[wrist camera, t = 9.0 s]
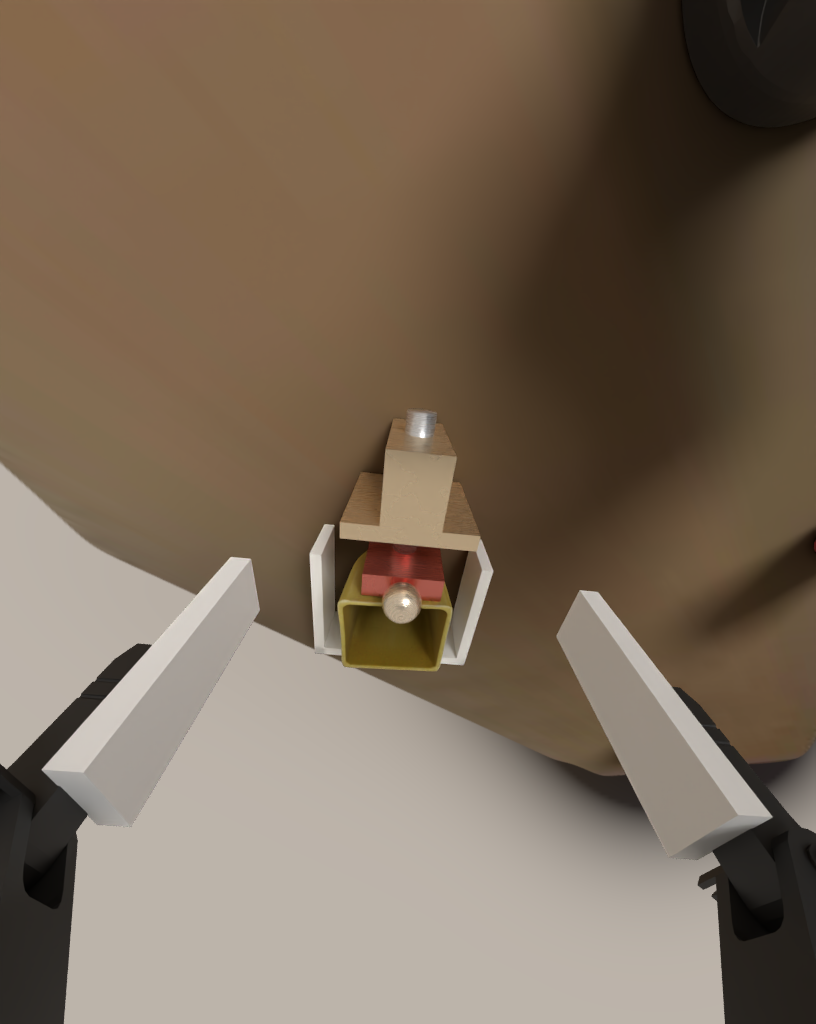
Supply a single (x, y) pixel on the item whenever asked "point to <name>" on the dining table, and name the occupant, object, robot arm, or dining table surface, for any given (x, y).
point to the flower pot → (390, 630)
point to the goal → (462, 618)
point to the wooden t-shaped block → (410, 516)
